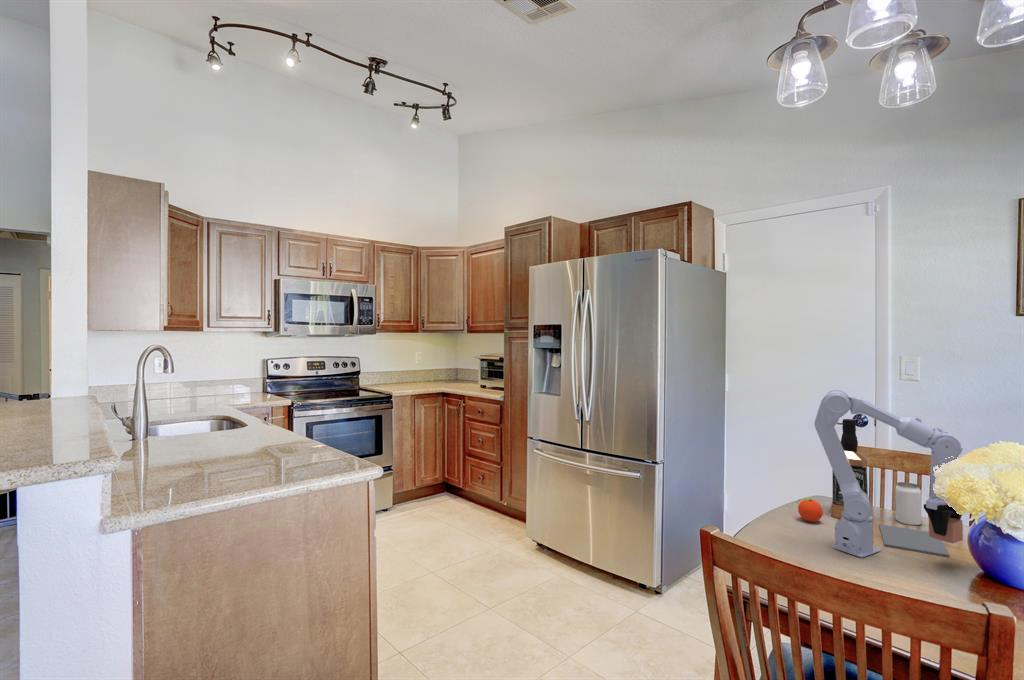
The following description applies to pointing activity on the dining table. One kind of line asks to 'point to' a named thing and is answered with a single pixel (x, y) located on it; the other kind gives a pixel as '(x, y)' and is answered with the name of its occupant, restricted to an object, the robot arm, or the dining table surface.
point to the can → (908, 503)
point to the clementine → (810, 510)
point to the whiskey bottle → (857, 465)
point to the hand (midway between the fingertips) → (945, 532)
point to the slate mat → (912, 540)
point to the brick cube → (949, 531)
